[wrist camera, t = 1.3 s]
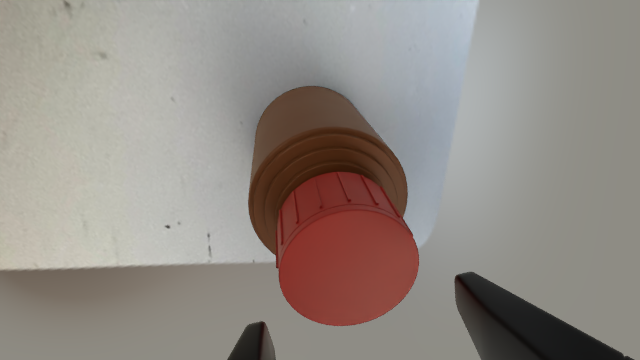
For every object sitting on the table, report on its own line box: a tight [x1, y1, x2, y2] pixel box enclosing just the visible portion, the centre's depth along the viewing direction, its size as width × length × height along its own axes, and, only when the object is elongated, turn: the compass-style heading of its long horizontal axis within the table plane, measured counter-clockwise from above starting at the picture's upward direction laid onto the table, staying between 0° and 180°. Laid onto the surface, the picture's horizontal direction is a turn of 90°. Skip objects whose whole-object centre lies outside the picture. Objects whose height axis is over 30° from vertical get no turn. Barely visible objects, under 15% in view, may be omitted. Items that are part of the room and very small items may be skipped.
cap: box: [275, 172, 419, 326], centre depth 12 cm, size 4×4×3 cm
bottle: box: [248, 86, 408, 255], centre depth 16 cm, size 6×6×11 cm
